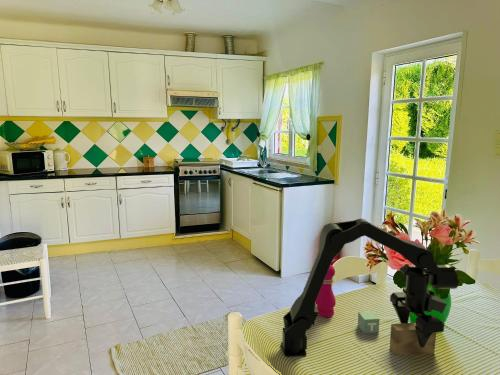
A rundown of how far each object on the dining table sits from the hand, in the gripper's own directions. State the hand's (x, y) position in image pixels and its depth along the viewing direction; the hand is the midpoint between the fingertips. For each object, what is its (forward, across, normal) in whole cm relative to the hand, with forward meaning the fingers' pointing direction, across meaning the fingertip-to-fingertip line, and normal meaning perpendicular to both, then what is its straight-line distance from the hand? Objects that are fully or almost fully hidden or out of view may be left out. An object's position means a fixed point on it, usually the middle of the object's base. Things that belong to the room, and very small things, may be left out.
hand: (413, 337), depth 103 cm
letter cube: (+4, +12, +8) cm, 16 cm away
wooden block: (+4, 0, 0) cm, 4 cm away
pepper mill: (+4, +24, +19) cm, 31 cm away
